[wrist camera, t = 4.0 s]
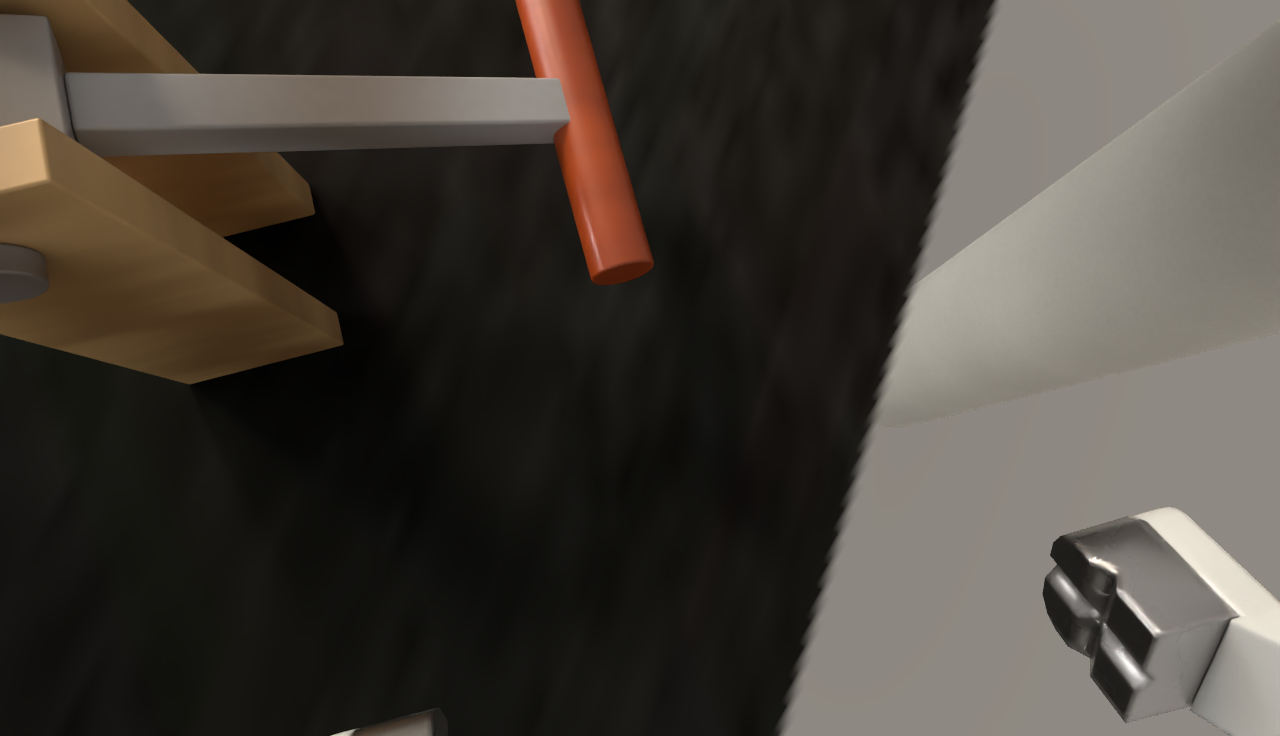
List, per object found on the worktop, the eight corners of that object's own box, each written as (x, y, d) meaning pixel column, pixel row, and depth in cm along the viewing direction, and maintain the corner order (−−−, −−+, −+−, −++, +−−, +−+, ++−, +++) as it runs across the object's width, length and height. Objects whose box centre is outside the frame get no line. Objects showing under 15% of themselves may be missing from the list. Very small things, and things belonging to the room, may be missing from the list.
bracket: (437, 124, 26) (231, -295, 12) (502, 388, 24) (353, 248, 11) (65, 214, 25) (-601, -128, 11) (111, 491, 24) (-582, 481, 10)
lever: (546, -7, 20) (581, -76, 18) (629, 288, 19) (676, 250, 17) (-142, -53, 14) (-211, -168, 12) (-85, 384, 13) (-152, 341, 11)
